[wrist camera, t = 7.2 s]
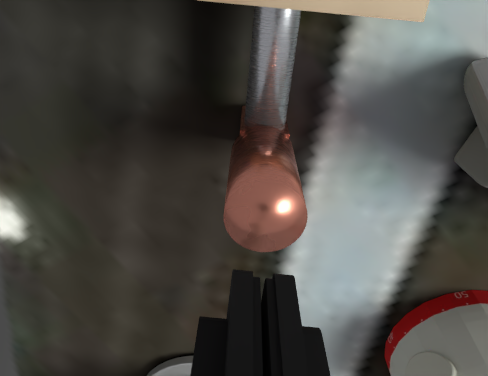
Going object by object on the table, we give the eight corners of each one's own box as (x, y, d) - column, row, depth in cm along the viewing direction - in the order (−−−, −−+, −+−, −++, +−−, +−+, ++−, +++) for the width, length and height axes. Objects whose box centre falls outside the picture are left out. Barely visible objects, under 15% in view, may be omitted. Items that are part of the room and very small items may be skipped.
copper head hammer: (283, 153, 28) (300, 255, 18) (232, 149, 28) (221, 248, 18) (335, -203, 19) (426, -398, 9) (261, -211, 19) (270, -418, 9)
